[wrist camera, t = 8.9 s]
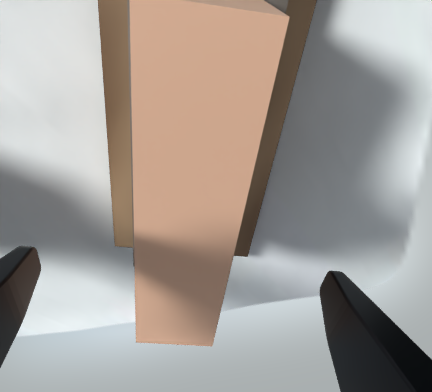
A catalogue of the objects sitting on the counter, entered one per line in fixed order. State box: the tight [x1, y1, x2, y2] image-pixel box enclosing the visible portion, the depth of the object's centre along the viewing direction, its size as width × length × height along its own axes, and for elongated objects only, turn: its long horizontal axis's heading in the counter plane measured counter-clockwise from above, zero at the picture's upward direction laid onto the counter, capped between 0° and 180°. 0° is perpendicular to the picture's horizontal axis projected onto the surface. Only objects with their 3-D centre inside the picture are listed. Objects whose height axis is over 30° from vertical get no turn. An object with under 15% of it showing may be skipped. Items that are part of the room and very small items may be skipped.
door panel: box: [129, 0, 290, 346], centre depth 15 cm, size 4×14×9 cm, turn 172°
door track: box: [98, 0, 317, 266], centre depth 18 cm, size 10×20×3 cm, turn 172°
